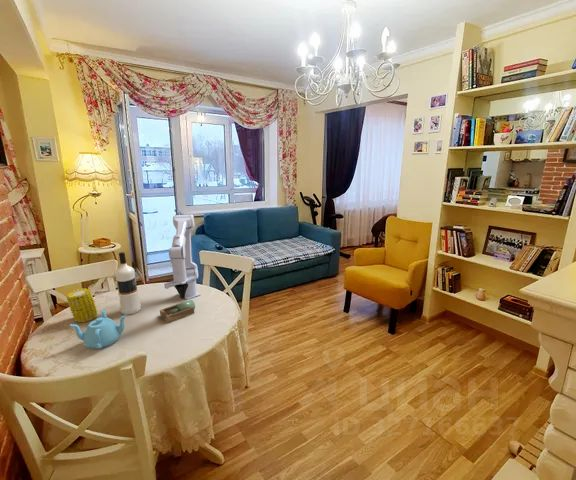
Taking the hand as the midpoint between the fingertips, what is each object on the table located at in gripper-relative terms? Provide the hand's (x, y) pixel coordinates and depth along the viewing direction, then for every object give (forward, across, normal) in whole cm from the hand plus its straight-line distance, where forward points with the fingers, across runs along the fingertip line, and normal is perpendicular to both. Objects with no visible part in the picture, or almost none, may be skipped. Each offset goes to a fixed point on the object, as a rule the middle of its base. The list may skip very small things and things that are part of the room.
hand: (182, 298), depth 143 cm
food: (+8, -36, +27) cm, 46 cm away
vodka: (+8, -18, +20) cm, 28 cm away
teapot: (+8, -34, +1) cm, 35 cm away
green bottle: (+5, +5, 0) cm, 7 cm away
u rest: (+7, -3, 0) cm, 8 cm away
